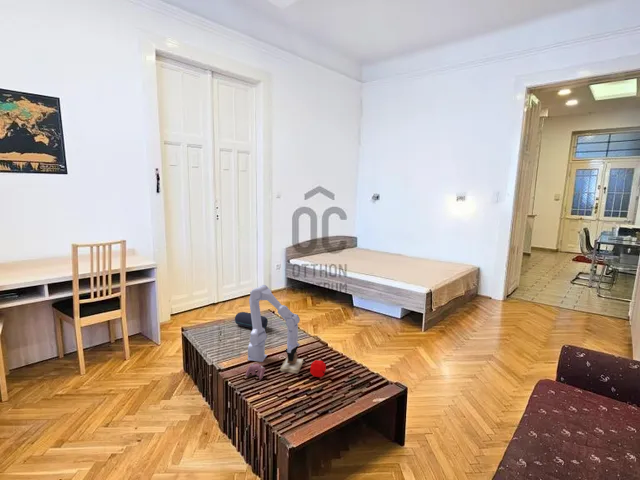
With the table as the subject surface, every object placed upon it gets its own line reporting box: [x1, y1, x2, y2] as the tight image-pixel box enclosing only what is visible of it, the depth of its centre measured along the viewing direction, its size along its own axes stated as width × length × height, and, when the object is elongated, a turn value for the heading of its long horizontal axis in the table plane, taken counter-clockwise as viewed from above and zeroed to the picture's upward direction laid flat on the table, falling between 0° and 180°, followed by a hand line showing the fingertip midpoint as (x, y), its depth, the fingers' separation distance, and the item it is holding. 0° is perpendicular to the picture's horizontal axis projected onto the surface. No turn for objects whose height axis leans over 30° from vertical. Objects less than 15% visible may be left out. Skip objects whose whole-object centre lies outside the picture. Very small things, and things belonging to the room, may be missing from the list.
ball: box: [309, 359, 327, 378], centre depth 184 cm, size 8×8×8 cm
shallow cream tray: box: [280, 357, 304, 374], centre depth 193 cm, size 10×12×2 cm
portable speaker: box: [234, 311, 269, 330], centre depth 243 cm, size 25×10×10 cm, turn 66°
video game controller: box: [245, 363, 266, 381], centre depth 183 cm, size 10×5×7 cm, turn 72°
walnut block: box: [287, 351, 298, 364], centre depth 192 cm, size 4×4×5 cm
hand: (292, 358), depth 192 cm, fingers closed on walnut block, 4 cm apart
